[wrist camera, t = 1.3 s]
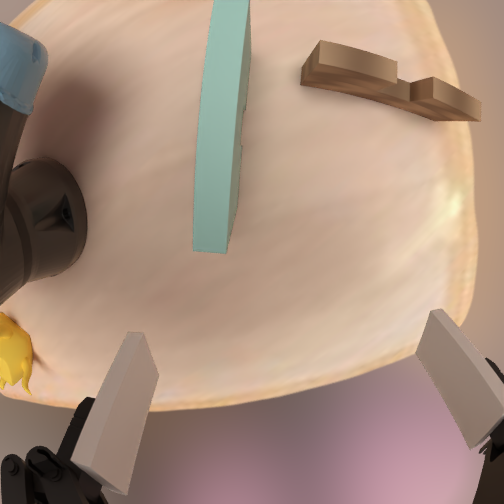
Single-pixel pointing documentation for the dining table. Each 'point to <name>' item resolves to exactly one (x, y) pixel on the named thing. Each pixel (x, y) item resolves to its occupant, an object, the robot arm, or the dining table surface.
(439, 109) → the walnut plate
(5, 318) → the yellow lumpy piece
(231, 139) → the sage plate
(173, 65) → the dining table surface
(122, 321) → the dining table surface
